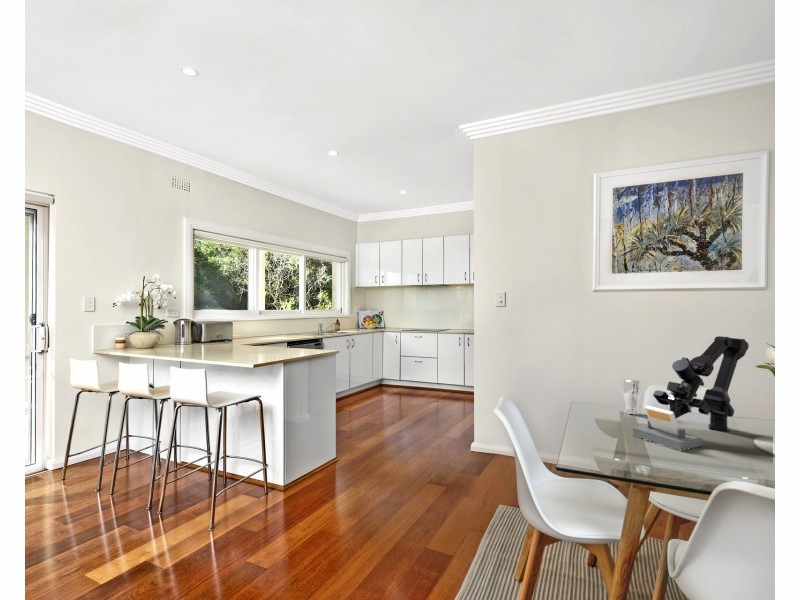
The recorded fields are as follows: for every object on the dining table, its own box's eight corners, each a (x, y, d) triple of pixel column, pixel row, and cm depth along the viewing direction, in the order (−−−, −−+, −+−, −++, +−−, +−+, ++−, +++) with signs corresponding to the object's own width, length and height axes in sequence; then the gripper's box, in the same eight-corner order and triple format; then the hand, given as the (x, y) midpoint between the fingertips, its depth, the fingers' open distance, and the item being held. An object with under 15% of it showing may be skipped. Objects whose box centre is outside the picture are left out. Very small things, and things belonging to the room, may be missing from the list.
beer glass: (619, 412, 199) (619, 380, 199) (630, 410, 202) (630, 379, 202) (632, 416, 193) (632, 383, 193) (643, 414, 195) (643, 381, 195)
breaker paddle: (654, 424, 166) (647, 405, 164) (680, 432, 157) (673, 411, 155) (651, 427, 165) (644, 408, 163) (677, 435, 156) (670, 414, 154)
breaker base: (653, 431, 172) (653, 416, 172) (700, 446, 155) (701, 429, 155) (632, 435, 166) (633, 420, 166) (680, 451, 150) (680, 434, 150)
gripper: (655, 370, 172) (637, 400, 168) (705, 378, 156) (687, 412, 151) (668, 387, 176) (650, 418, 171) (718, 397, 159) (700, 431, 155)
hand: (670, 419), depth 162 cm, fingers closed
